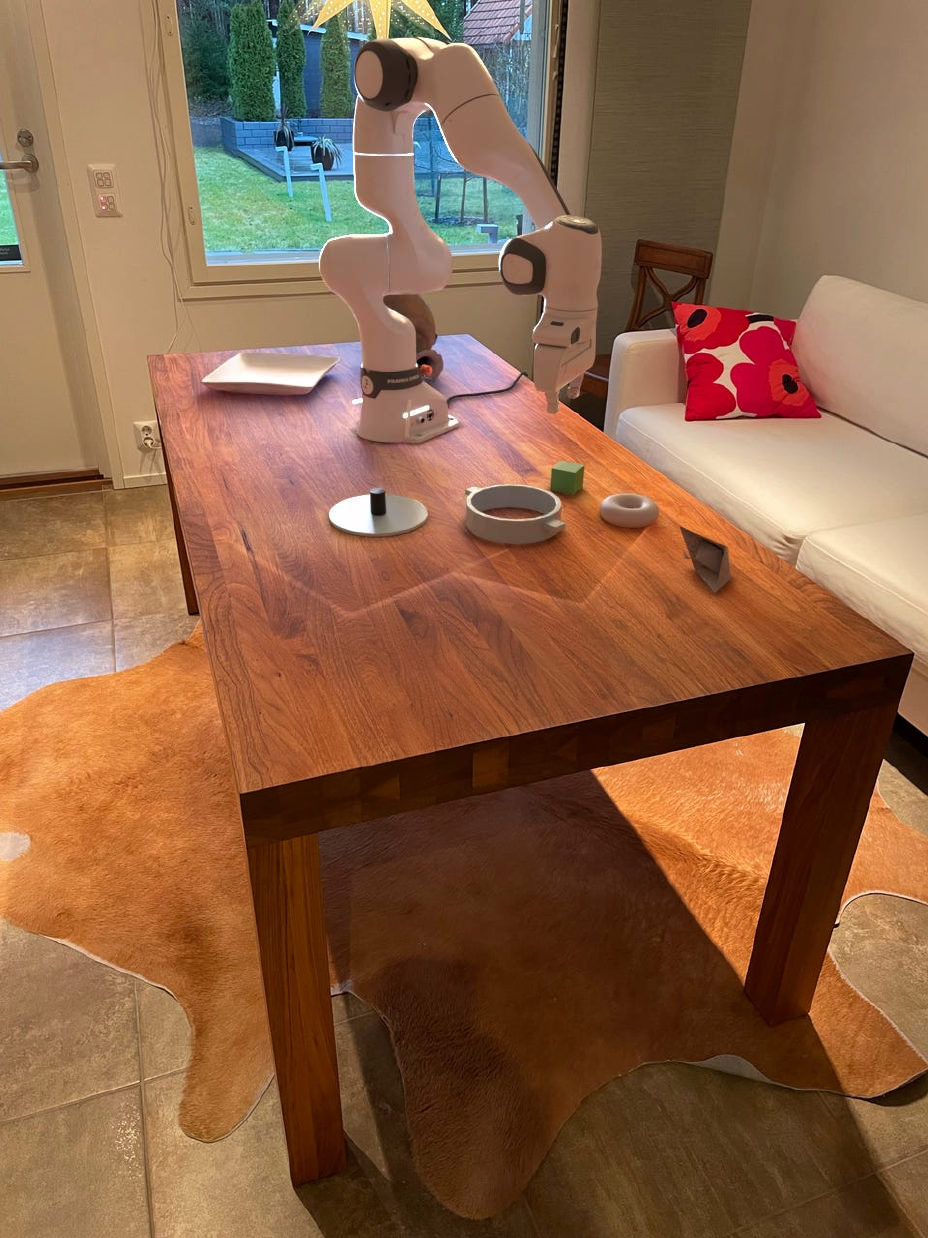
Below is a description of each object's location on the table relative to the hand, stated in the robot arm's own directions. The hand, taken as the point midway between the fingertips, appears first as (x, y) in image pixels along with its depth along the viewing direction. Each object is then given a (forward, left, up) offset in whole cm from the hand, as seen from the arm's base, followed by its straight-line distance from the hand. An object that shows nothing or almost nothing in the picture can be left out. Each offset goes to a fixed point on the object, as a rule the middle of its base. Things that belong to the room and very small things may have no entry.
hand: (563, 404), depth 160 cm
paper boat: (+9, +37, -16) cm, 41 cm away
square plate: (+1, -93, -16) cm, 95 cm away
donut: (+1, +17, -16) cm, 23 cm away
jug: (-32, -82, -16) cm, 90 cm away
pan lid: (+33, -11, -15) cm, 38 cm away
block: (-1, +1, -16) cm, 16 cm away
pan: (+18, +6, -16) cm, 25 cm away
